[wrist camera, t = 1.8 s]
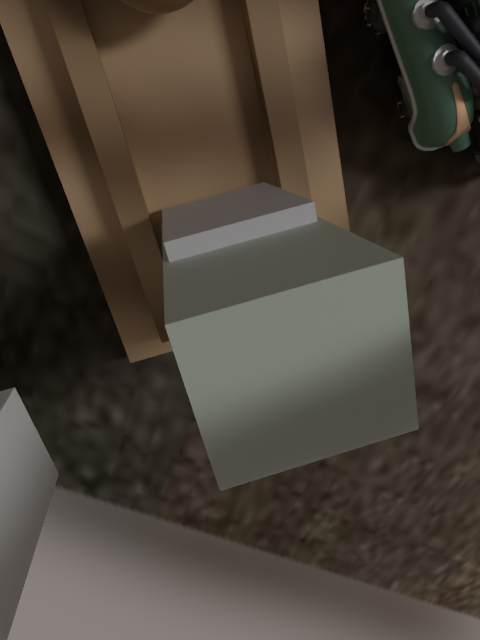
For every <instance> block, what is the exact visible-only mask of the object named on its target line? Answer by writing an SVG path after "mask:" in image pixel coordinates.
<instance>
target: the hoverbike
mask: <svg viewBox="0 0 480 640" xmlns="http://www.w3.org/2000/svg"><path fill="white" fill-rule="evenodd" d="M363 12H364V13H365V16H364V17H365V19H366V22H367V24H366V26H369V27H370V29H371V31H373V32H375V34H376V35H382V34H385V33H388V36H389V39H390V42H391V45H392V48H393V50H394V53H395V56H396V59H397V62H398V65H399V68H400V70H401V73H402V74H400V75H399V76H398V83H399V86H400V89H401V94H400V98H399V101H398V103H397V104H398V106H397V109H399V114H400V118H403V119H404V120H405V122H408V123H409V125H408V132H409V134H410V137H411V139H412V142H413V144H414V146H415V147H416V148H417V149H419V150H422V151H434V150H436V149H438V148H441V147H443V146H444V145H445V146H450V148H451V149H452V151H453V152H459V151H462V150H464V149H466V148H467V147H469V146H470V142H471V145H472V149H473V152H474V154H475V158H476V160H477V162H478V164H479V165H480V153H478V152H476V150H480V147H476V146H474V142H473V139H472V136H471V133H470V129H471V126H470V125H471V123H472V121H473V118H474V115H475V114H480V110H474V105H473V89H472V86H471V84H472V85H473V86H474V87H475V88H476V89H477V90H478V91H479V92H480V0H450V1H446V2H445V1H441V0H367V3H366V4H365V5H364V11H363ZM377 33H378V34H377ZM455 39H456V41H457V42H458V43H459V44H460V45H461V47H462V48H463V49H464V50H465V52H464V51H462V50H459V48H458V46H457V43H456V41H455ZM478 120H479V122H480V116H479V117H478Z"/></svg>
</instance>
